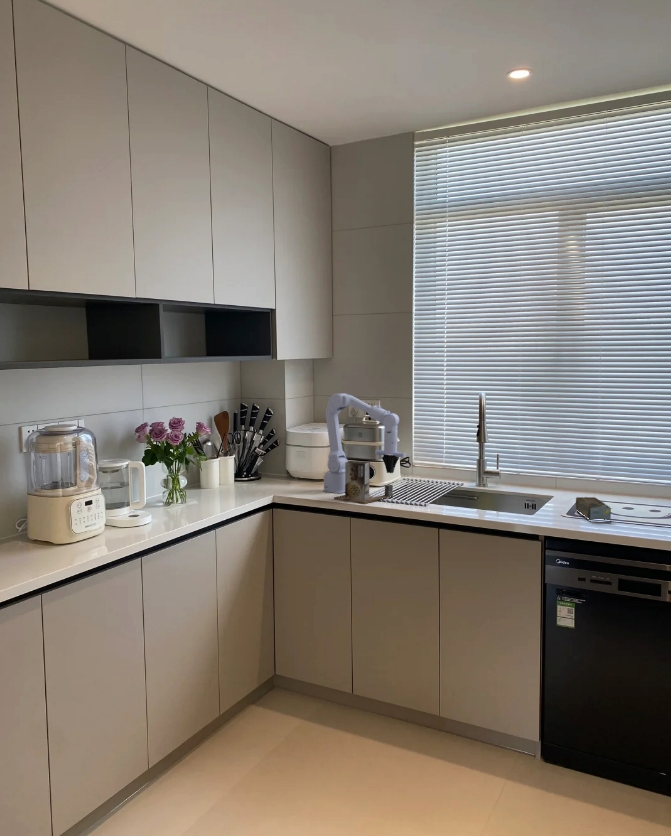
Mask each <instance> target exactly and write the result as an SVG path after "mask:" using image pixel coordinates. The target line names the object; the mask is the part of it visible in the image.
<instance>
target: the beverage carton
mask: <svg viewBox="0 0 671 836" xmlns="http://www.w3.org/2000/svg"><path fill="white" fill-rule="evenodd" d="M576 509H577V510H578V511H579V512H581V513H582V514H583V515H585V516H586V517H588V518H589V519H604V520H605V519H607V520H611V519H612V518H611V517H612V516H611V514H612V512H611V511H612V508H611V507H610V506H609V505H608V504H606V503H604V502H603V501H601V500H600V499H598V498H597V497H595V496H594V497H593V496H592V497H591V496H589V497H587V496H584V497H582V496H581V497H579V496H578V497H577V496H576V498H575V510H576Z"/></svg>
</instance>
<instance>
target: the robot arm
mask: <svg viewBox="0 0 671 836" xmlns="http://www.w3.org/2000/svg"><path fill="white" fill-rule="evenodd" d="M327 401H328V402H327V407H325V408H326V409H325V420H326V429H327V437H328V443H329V450H330V451H329V454H328V461H327V469H328V471H325V473H324V476H323V489H322V491H323V492H327V493H328V492H329V493H332V494H334V493H335V494H343V493H344V494H345V463H346V462H348V461H349V460H348V458H347V457H346V452H344V450H343V445H342V440H341V439H342V437H341V429H340V424H339V423H340V422H339V421H340V420H339V415H340V413H341V412H342V410H344V409H346V408H347V407H354V408H356V409H359V410H360V411H362V412H366V413H367V414H368V417H369V418H371V419H372V420H374V421H377V422H379V423H381V424H383V426H384V430H383V431H384V432H383V433H384V434H383V436H384V437H383V450H380V449H376V450H375V456H381V460H382V461H383V464H384V466H385V469H386V470H385V471H386V473H387V474H393V473H394V472H395V468H396V464H397V463H398V461H399V459H400V458H402V459H403V458H407V453H406V452H403V451H402V452H401V451H398V425H399V424H400V421H401V420H400V417H399V415H397V414H396V413H395V412H392V413H391V411H390V410H386V409H384V408H382V407H381V405H380V404H377V405H373V406H372V405H370V404H368V403H366V402H364V401H363V400H361V399H359V398H357V397H355V396H353V395H351V394H349V393H346V392H341V393H333V394H332V395H331V396H330V397H329V398H328V400H327Z"/></svg>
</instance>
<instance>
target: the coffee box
mask: <svg viewBox="0 0 671 836" xmlns="http://www.w3.org/2000/svg"><path fill="white" fill-rule="evenodd" d="M370 465H371V463H370V461H364V460H363V461H361V460H348V462H346V463H345V492H344V495H345V498H348V499H359V500H366V499H368V498H369V497H370V479H371V478H370V472H371V471H370V470H371V469H370V468H371V467H370Z"/></svg>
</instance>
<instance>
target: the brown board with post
mask: <svg viewBox="0 0 671 836" xmlns="http://www.w3.org/2000/svg"><path fill="white" fill-rule="evenodd" d="M393 491H394V490H393V484H386V485H384V494H383V495H379V496H375V497H373V496H369V498H368V499H366V500H359V499H348V498H345V494H344V495H343V494H342V495H339V496H338V495H337V496H334V497H333V500H337V501H338V500H339V501H344V502H351V503H356V504H363V505H366V504H370V503H373V502H374V501H375V502H377V500H379V499H382V498H386V497H390V496H393V497H394V495H393V493H394V492H393ZM379 501H380V500H379Z"/></svg>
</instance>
